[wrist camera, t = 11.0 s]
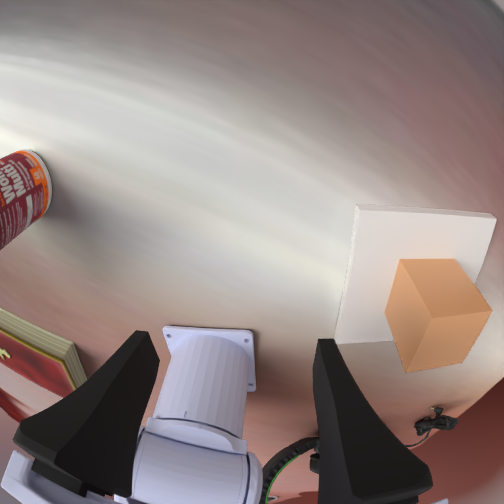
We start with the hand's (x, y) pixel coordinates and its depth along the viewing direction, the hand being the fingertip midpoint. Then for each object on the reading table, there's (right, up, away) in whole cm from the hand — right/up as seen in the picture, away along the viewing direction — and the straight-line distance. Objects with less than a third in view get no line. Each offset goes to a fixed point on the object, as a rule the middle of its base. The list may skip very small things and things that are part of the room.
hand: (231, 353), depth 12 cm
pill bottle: (-18, +10, +7) cm, 21 cm away
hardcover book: (-31, -9, +20) cm, 38 cm away
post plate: (+14, +2, +9) cm, 16 cm away
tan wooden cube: (+14, +2, +8) cm, 16 cm away
